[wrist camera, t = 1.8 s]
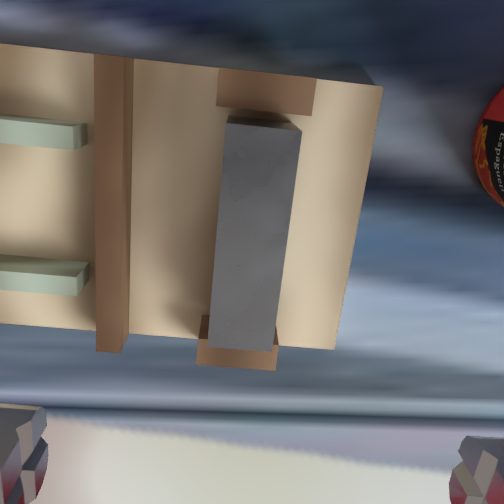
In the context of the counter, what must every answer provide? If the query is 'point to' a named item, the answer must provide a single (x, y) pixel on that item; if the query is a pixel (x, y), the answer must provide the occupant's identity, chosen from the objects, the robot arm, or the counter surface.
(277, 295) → the bar
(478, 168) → the canned food
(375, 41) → the counter surface
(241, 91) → the lock board
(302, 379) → the counter surface
